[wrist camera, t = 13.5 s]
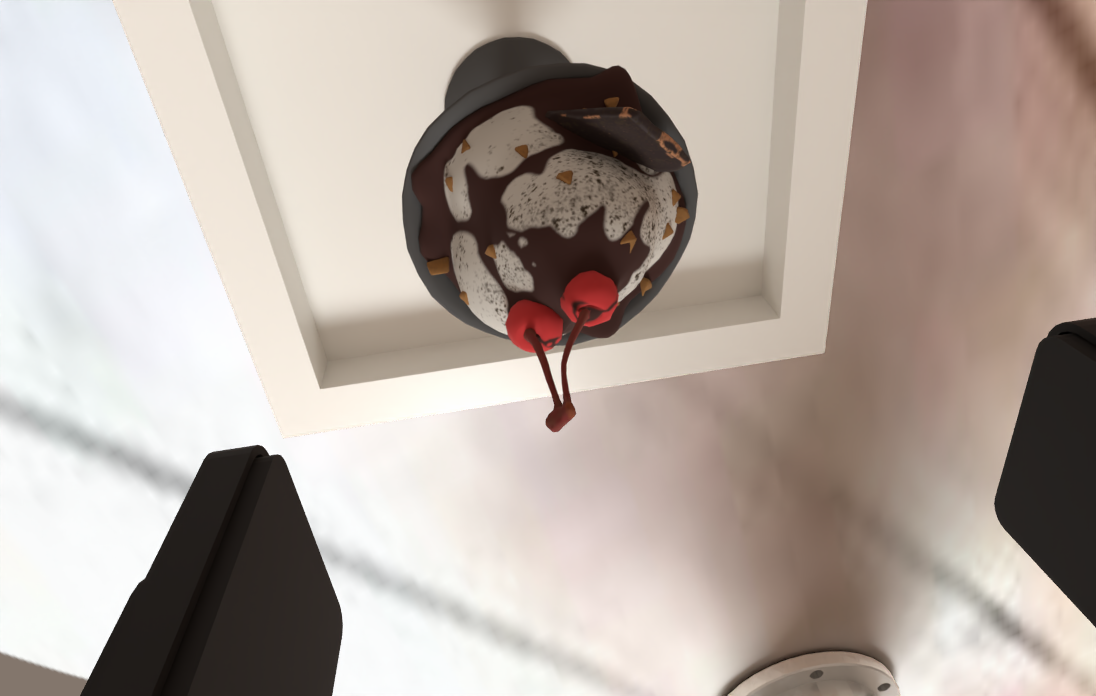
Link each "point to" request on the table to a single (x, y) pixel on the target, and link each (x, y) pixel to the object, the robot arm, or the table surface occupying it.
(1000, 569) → the table surface
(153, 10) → the tray
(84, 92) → the table surface
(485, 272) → the sundae
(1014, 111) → the table surface
